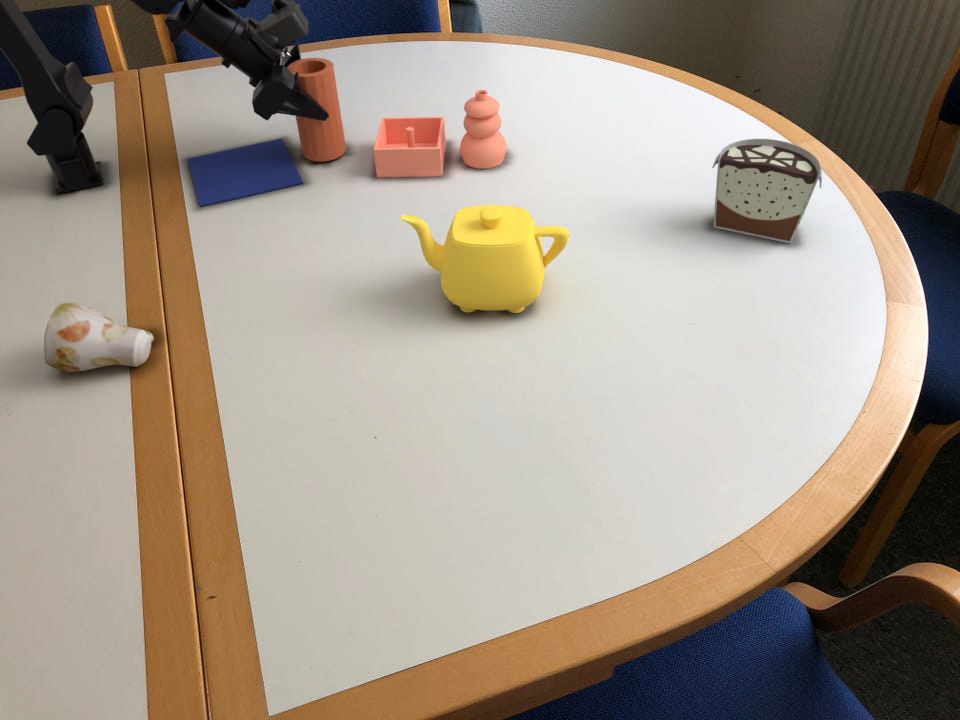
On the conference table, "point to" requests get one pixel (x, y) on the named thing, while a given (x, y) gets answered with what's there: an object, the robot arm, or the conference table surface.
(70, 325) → the fruit patterned vase
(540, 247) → the teapot
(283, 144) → the napkin
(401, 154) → the pottery
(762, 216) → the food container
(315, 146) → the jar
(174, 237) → the conference table surface
